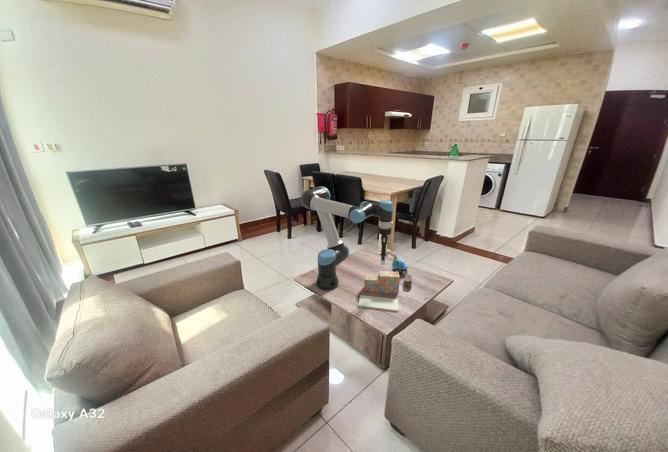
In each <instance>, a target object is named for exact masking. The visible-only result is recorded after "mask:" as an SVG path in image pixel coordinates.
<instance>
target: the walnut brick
mask: <svg viewBox="0 0 668 452" xmlns="http://www.w3.org/2000/svg"><path fill="white" fill-rule="evenodd" d="M404 277H405V278H404V288H409V289H411V288H412V287H413V275H412V274H408V273H407V274H405V275H404Z"/></svg>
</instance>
